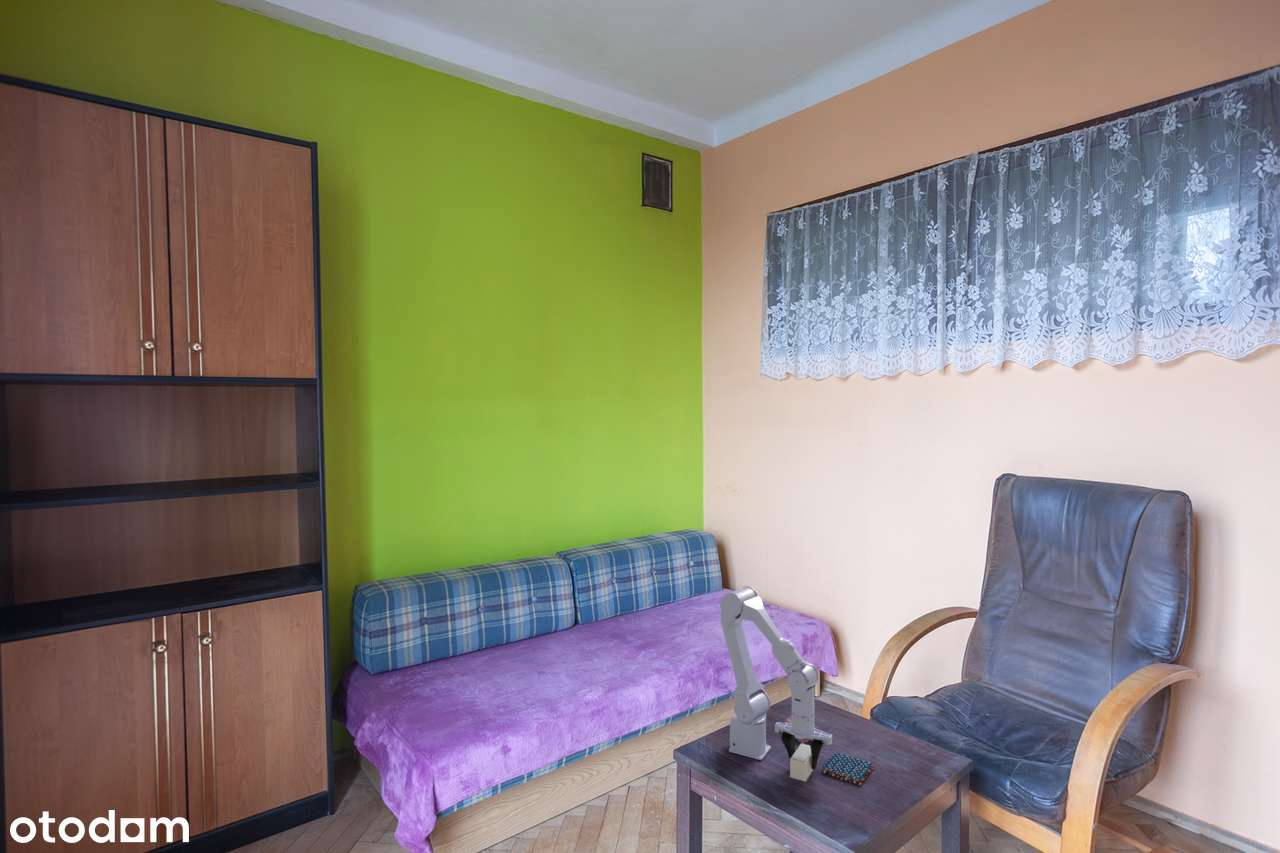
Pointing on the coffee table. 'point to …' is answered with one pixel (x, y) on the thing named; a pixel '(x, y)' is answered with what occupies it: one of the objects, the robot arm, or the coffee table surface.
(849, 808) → the coffee table surface
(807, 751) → the painted block
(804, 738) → the pink curved figurine
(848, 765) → the woven mat
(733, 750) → the robot arm
